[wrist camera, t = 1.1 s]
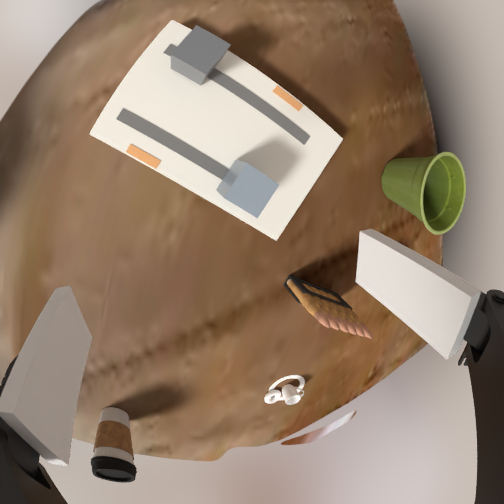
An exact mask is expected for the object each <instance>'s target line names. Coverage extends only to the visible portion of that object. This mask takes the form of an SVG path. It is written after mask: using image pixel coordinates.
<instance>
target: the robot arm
mask: <svg viewBox="0 0 504 504" xmlns="http://www.w3.org/2000/svg"><path fill="white" fill-rule="evenodd" d="M356 283H358V284H359V285H360V286H361V287H363V288H364V289H365V290H366V291H367V292H369V293H370V294H371V295H372V296H374V297H375V298H376V299H377V300H378V301H380V302H381V303H382V304H383V305H384V306H386V307H387V308H388V309H389V310H390V311H392V312H393V313H394V314H395V315H396V316H397V317H399V318H400V319H401V320H402V321H403V322H405V323H406V324H407V325H408V326H409V327H410V328H412V329H413V330H414V331H415V332H416V333H417V334H418V335H420V336H421V337H422V338H423V339H424V340H425V341H426V342H428V343H429V344H430V345H431V346H432V347H433V348H434V349H435V350H437V351H438V352H439V353H440V354H441V355H442V356H443V357H444V358H445V359H448V358H450V357H451V356H452V355H454V354H455V353H456V352H458V350H459V347H460V345H461V343H462V341H463V339H464V340H465V341H467V345H466V347H465V349H464V351H463V353H462V355H461V357H460V359H459V362H458V365H461V363H462V361H463V359H464V358H467V359H466V361H465V363H464V365H465V366H468V367H469V373H470V378H471V385H472V392H473V398H474V407H475V417H476V429H477V456H478V457H477V460H478V462H477V486H476V498H475V504H504V292H502V291H499V290H489V291H488V292H487V294H484V293H483V292H481V290H479V289H478V288H476V287H475V286H473V285H471V284H470V283H468V282H467V281H465V280H463V279H461V278H460V277H458V276H457V275H455V274H453V273H452V272H450V271H448V270H446V269H445V268H443V267H442V266H440V265H438V264H436V263H435V262H433V261H431V260H429V259H428V258H426V257H424V256H422V255H420V254H419V253H417V252H415V251H413V250H411V249H409V248H408V247H406V246H404V245H402V244H400V243H398V242H396V241H394V240H393V239H391V238H389V237H387V236H385V235H383V234H381V233H379V232H377V231H375V230H373V229H369V230H363V231H360V236H359V250H358V262H357V272H356ZM91 341H92V336H91V334H90V332H89V329H88V327H87V325H86V323H85V321H84V318H83V316H82V314H81V311H80V309H79V307H78V304H77V302H76V299H75V297H74V294H73V292H72V289H71V286H66V287H60V288H56V289H55V291H54V292H53V294H52V295H51V297H50V299H49V300H48V302H47V304H46V305H45V307H44V309H43V310H42V312H41V314H40V316H39V317H38V319H37V321H36V323H35V324H34V326H33V328H32V330H31V332H30V334H29V335H28V337H27V339H26V341H25V343H24V345H23V347H22V349H21V351H20V353H19V355H17V356H16V358H15V359H14V360H13V361H12V362H11V363H10V365H9V367H8V369H7V371H6V373H5V377H4V378H3V380H2V383H1V385H2V386H0V504H67V502H66V501H65V499H64V498H63V496H62V495H61V493H60V492H59V491H58V489H57V488H56V486H55V485H54V483H53V481H52V480H51V478H50V476H49V475H48V473H47V472H46V470H45V468H44V467H43V466H42V465H41V464H40V463H39V456H40V455H41V456H42V457H43V458H44V459H46V460H47V461H48V462H49V463H51V464H57V465H66V466H69V457H70V448H71V439H72V432H73V425H74V418H75V412H76V407H77V401H78V396H79V391H80V386H81V382H82V377H83V373H84V368H85V364H86V360H87V356H88V352H89V349H90V345H91Z"/></svg>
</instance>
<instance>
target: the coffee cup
mask: <svg viewBox="0 0 504 504" xmlns="http://www.w3.org/2000/svg"><path fill="white" fill-rule="evenodd" d="M93 452H94V457H93V458H92V459H91V465H92V472H93V474H94V475H95V476H96V477H98V478H101V479H105V480H109V481H114V482H132V481H134V480H135V476H136V473H137V471H136V467H135V465H134V463H133V460H134V457H133V449H132V442H131V434H130V425H129V416H128V414H127V413H126V412H125V411H123V410H121V409H119V408H115V407H107V408H104V409H103V410H102V411H101V416H100V421H99V425H98V430H97V434H96V440H95V445H94V451H93Z"/></svg>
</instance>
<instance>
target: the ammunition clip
mask: <svg viewBox="0 0 504 504" xmlns="http://www.w3.org/2000/svg"><path fill="white" fill-rule="evenodd" d="M284 286H285V287H286V289H287V290H288V291H289V292H290V293H291V295H292V296H293V297H294V298H295V299H296V301H297V302H298V303H301V304H302V305H303V306H304V307H305V308H306V309H307V311H308V312H309V313H310V314H312V315H313V316H314V317H315V318H316V319H317V320H318V321H319V322H320V323H321V324H322V325H324V326H325V327H328V328H330V326H331V327H332V328H334V329H336V330H340V329H341V330H342V331H344V332H347V333H348V332H350V333H352V334H355V335H357V334H358V335H360V336H363V337H365V336H366V337H368V338H372V335H371V333H370V331H369V330H368V328H367V327H366V326H365V325H364V324H363V322H362V321H361V320H360V318H359V317H358V316H357V315H356V314H355V313H354V312H353V311H352V308H351V307H350V306H349V305H348V304H347V303H346V302H345V301H344V300H343V299H342V298H341V297H340V296H339V295H338V294H337V293H334V292H332V291H329V290H327V289H324V288H322V287H319V286H317V285H314V284H312V283H309V282H307V281H304V280H302V279H299V278H296V277H294V276H291V275H289V277H288V278H287V280H286V282H285V283H284Z"/></svg>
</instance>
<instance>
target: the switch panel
mask: <svg viewBox="0 0 504 504" xmlns="http://www.w3.org/2000/svg"><path fill="white" fill-rule="evenodd" d="M191 31H192V30H191V29H189V28H187V27H185V26H183V25H181V24H179V23H177V22H175V21H173V20H171V21H170V22H169V23H168V25H167V26H166V27H165V28H164V29H163V30H162V31H161V32H160V33H159V35H158V36H157V37H156V38H155V39H154V40H153V42H152V43H151V44H150V45H149V46H148V48H147V49H146V50H145V51H144V52H143V54H142V55H141V56H140V58H139V59H138V60H137V61H136V63H135V64H134V65H133V67H132V68H131V69H130V71H129V72H128V73H127V75H126V76H125V78H124V79H123V81H122V82H121V83H120V85H119V86H118V88H117V89H116V91H115V92H114V94H113V95H112V97H111V98H110V100H109V102H108V103H107V105H106V106H105V108H104V110H103V111H102V113H101V115H100V116H99V118H98V120H97V121H96V123H95V125H94V127H93V128H92V130H91V132H90V135H92V136H94V137H95V138H97V139H99V140H101V141H103V142H105V143H107V144H108V145H110V146H112V147H114V148H116V149H118V150H119V151H121V152H123V153H125V154H127V155H128V156H130V157H132V158H134V159H136V160H138V161H139V162H141V163H143V164H145V165H146V166H148V167H150V168H152V169H154V170H155V171H157V172H159V173H161V174H163V175H164V176H166V177H168V178H170V179H171V180H173V181H175V182H177V183H178V184H180V185H182V186H184V187H185V188H187V189H189V190H191V191H192V192H194V193H196V194H198V195H199V196H201V197H203V198H205V199H206V200H208V201H210V202H211V203H213V204H215V205H217V206H218V207H220V208H222V209H223V210H225V211H227V212H229V213H230V214H232V215H234V216H235V217H237V218H239V219H241V220H242V221H244V222H246V223H247V224H249V225H251V226H252V227H254V228H256V229H257V230H259V231H261V232H262V233H264V234H266V235H267V236H269V237H271V238H272V239H274V240H276V241H277V239H278V238H279V236H280V235H281V233H282V232H283V230H284V229H285V227H286V226H287V224H288V223H289V221H290V220H291V218H292V217H293V215H294V214H295V212H296V211H297V209H298V207H299V206H300V204H301V203H302V201H303V200H304V198H305V197H306V195H307V194H308V192H309V191H310V189H311V188H312V186H313V185H314V183H315V182H316V180H317V179H318V177H319V175H320V174H321V172H322V171H323V169H324V168H325V166H326V165H327V163H328V162H329V160H330V159H331V157H332V155H333V154H334V152H335V151H336V149H337V148H338V146H339V145H340V143H341V141H342V140H343V138H341V137H340V136H339V135H338V134H337V133H336V132H335V131H334V130H333V129H332V128H331V127H329V126H328V125H327V124H326V123H325V122H324V121H323V120H322V119H320V118H319V117H318V116H317V115H316V114H315V113H313V112H312V111H311V110H310V109H309V108H307V107H306V106H305V105H304V104H303V103H301V102H300V101H299V100H298V99H296V98H295V97H294V96H293V95H291V94H290V93H289V92H287V91H286V90H285V89H283V88H282V87H281V86H279V85H278V84H277V83H275V82H274V81H273V80H271V79H270V78H269V77H267V76H266V75H264V74H263V73H262V72H260V71H259V70H257V69H256V68H254V67H253V66H251V65H250V64H248V63H247V62H245V61H244V60H242V59H241V58H239V57H238V56H236V55H234V54H233V53H231V52H230V51H228V50H227V52H226V53H225V55H224V56H223V58H222V60H221V61H220V62H219V63H218V64H217V66H216V67H215V68H214V69H213V71H212V72H211V73H210V74H209V76H208V77H207V78H206V80H205V81H204V82H203V83H202V85H201V86H200V85H199V84H197V83H195V82H194V81H192V80H190V79H188V78H187V77H185V76H183V75H181V74H180V73H178V72H176V71H174V70H172V69H171V54H172V52H173V51H174V50H175V49H176V48H177V46H178V45H179V44H180V43H181V42H182V41H183V39H184V38H185V37H186V36H187V35H188V34H189V33H190V32H191ZM235 160H238V161H242V162H246V163H248V164H250V165H251V166H253V167H254V168H256V169H257V170H259V171H260V172H262V173H263V174H265V175H266V176H268V177H269V178H270V179H272V180H273V181H275V182H276V183H278V184H279V186H278V188H277V189H276V191H275V192H274V194H273V195H272V197H271V199H270V200H269V202H268V203H267V205H266V206H265V208H264V209H263V211H262V212H261V214H260V215H259V217H258V218H256V217H254V216H253V215H251V214H249V213H248V212H246V211H245V210H243V209H241V208H240V207H238V206H236V205H235V204H233V203H231V202H230V201H228V200H226V199H225V198H223V197H222V196H221V195H220V194H219V193H218V191H217V190H216V189H217V188H218V186H219V184H220V183H221V181H222V180H223V178H224V177H225V175H226V174H227V172H228V170H229V169H230V167H231V166H232V164H233V163H234V161H235Z"/></svg>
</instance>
